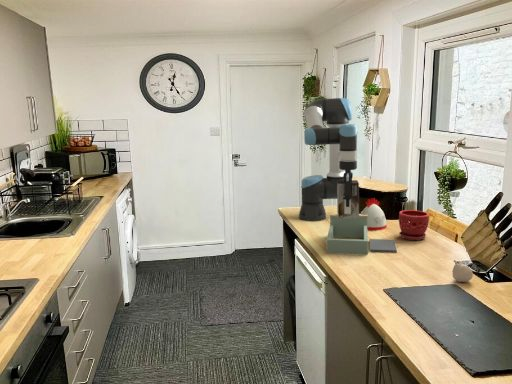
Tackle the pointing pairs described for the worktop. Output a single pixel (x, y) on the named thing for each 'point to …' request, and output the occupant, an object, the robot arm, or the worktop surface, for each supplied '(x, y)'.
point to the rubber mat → (382, 245)
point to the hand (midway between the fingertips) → (347, 211)
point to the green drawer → (348, 235)
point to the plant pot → (413, 224)
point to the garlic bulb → (462, 272)
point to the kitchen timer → (374, 215)
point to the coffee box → (353, 200)
